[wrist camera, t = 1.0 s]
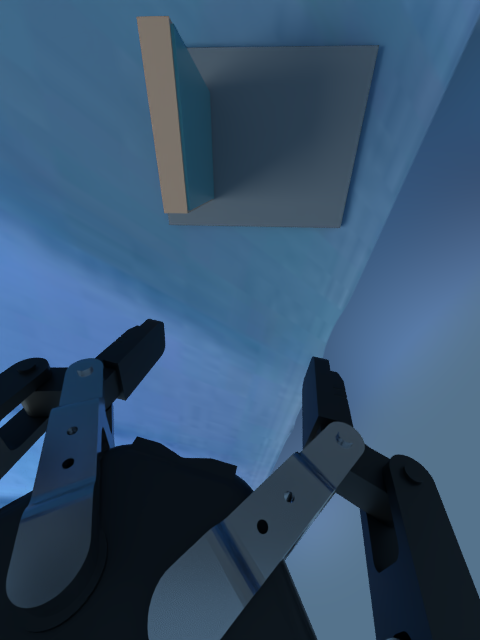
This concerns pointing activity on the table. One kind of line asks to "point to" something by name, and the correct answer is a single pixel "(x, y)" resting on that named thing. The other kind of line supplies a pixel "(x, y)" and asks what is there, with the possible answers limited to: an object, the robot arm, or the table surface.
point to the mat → (282, 133)
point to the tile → (177, 116)
